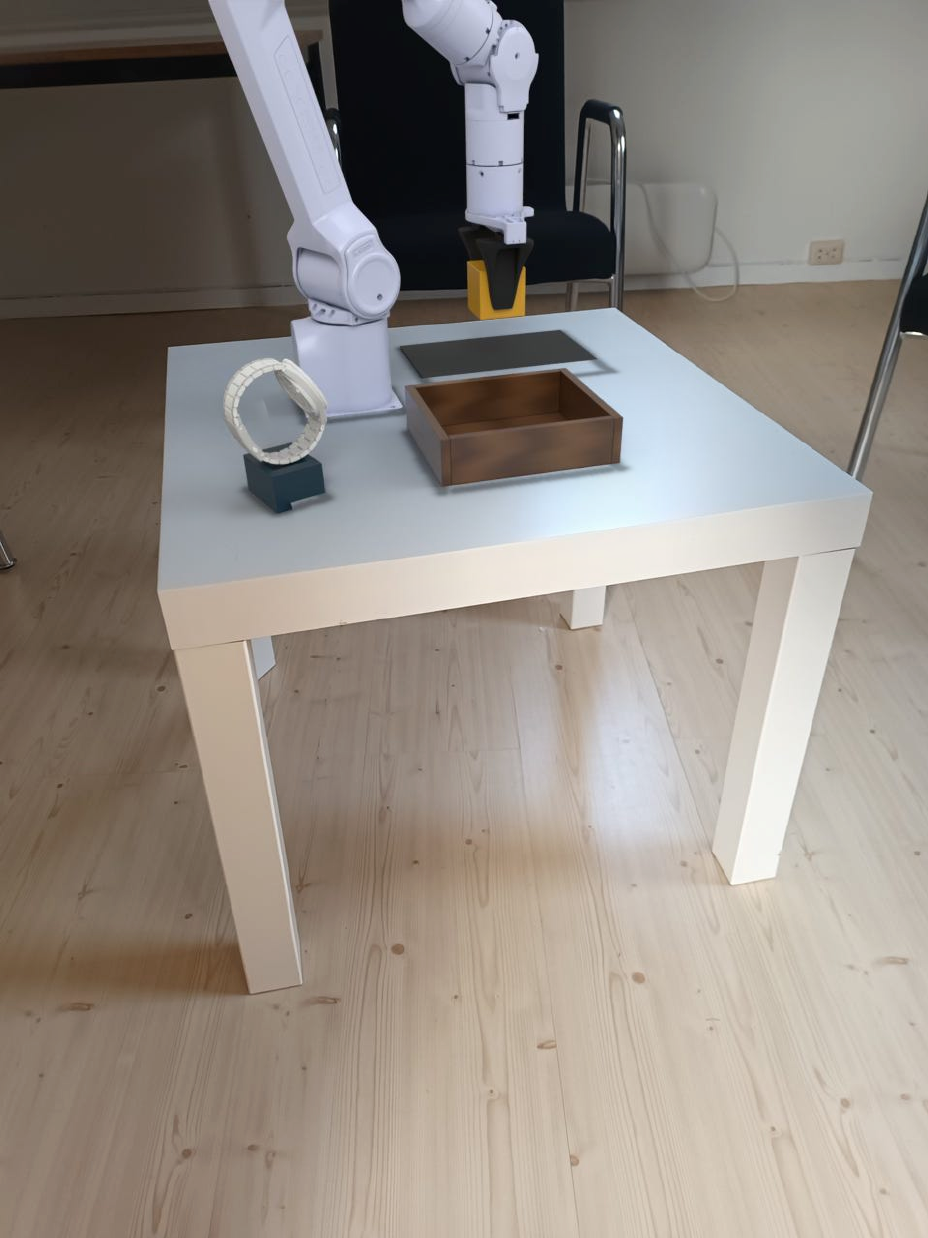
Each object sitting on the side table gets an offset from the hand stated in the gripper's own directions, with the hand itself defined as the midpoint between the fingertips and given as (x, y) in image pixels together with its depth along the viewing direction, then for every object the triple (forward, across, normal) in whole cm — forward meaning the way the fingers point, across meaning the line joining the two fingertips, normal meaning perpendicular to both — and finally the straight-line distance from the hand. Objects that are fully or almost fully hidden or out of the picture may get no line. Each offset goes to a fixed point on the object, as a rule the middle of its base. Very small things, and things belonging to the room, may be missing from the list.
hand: (495, 302), depth 100 cm
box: (+7, -24, +6) cm, 26 cm away
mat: (+7, +1, -1) cm, 7 cm away
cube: (+1, 0, 0) cm, 1 cm away
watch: (+7, -27, +26) cm, 38 cm away
